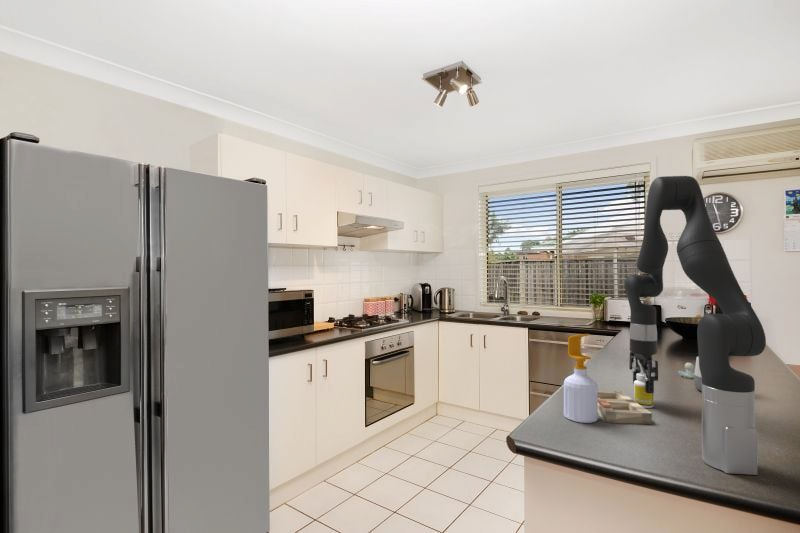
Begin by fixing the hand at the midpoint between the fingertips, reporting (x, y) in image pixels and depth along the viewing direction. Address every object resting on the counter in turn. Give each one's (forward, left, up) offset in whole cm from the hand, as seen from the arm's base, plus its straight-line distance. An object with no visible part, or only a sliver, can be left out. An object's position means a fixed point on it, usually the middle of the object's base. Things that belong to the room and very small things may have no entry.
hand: (642, 388), depth 132 cm
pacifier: (+38, -34, -6) cm, 52 cm away
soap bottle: (-14, +23, -5) cm, 28 cm away
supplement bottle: (0, 0, -5) cm, 5 cm away
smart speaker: (+18, -30, -5) cm, 35 cm away
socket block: (-6, +11, -5) cm, 14 cm away
